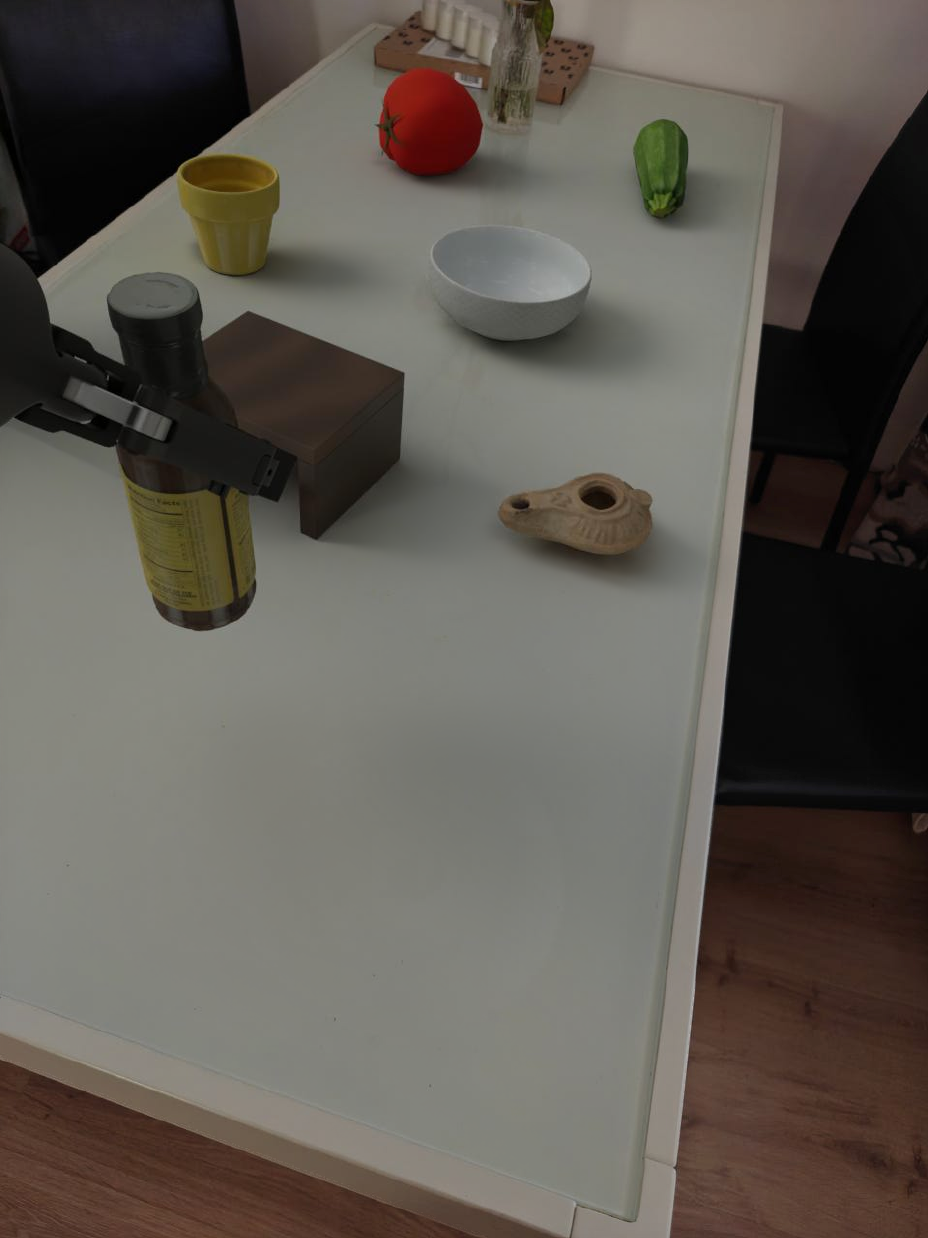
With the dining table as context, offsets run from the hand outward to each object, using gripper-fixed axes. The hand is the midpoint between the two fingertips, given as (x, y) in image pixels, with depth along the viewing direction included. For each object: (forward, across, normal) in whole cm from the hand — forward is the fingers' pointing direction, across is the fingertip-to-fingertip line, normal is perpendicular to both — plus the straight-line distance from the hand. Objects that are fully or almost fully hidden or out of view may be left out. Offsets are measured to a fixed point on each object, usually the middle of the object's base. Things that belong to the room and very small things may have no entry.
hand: (230, 453), depth 55 cm
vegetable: (+83, +6, -54) cm, 99 cm away
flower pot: (+48, +38, -19) cm, 64 cm away
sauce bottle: (+4, 0, +9) cm, 9 cm away
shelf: (+29, +13, -1) cm, 32 cm away
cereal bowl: (+53, +8, -24) cm, 59 cm away
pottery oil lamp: (+34, -12, -5) cm, 36 cm away
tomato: (+74, +35, -44) cm, 93 cm away
